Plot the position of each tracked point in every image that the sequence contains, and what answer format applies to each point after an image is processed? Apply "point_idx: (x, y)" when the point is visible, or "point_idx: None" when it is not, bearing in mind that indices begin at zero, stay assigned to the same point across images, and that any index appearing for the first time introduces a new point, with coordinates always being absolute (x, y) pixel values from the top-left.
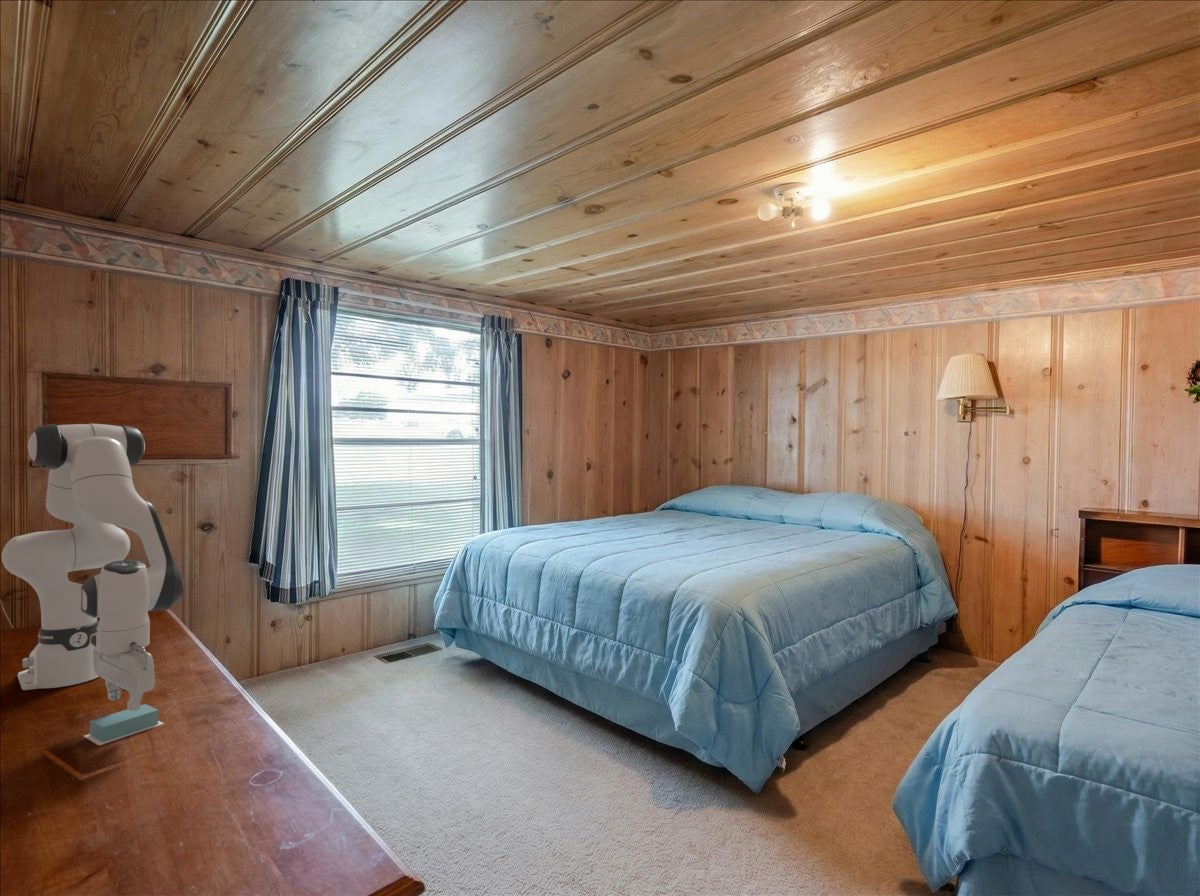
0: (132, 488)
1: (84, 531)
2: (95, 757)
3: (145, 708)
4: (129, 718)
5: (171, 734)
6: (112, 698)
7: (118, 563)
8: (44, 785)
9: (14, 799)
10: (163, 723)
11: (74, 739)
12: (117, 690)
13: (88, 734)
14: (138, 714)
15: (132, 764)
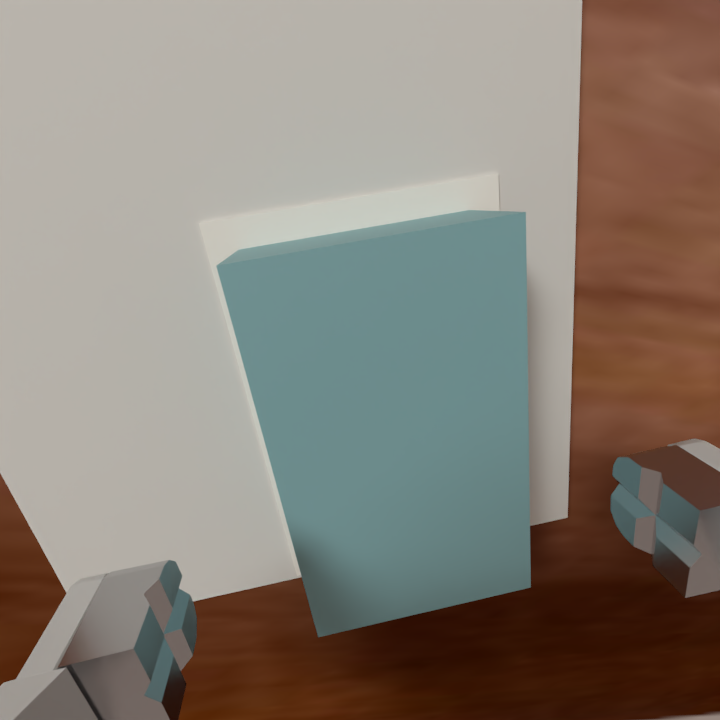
0: None
1: None
2: (593, 530)
3: (368, 297)
4: (519, 443)
5: (666, 178)
6: (192, 635)
7: None
8: (676, 657)
9: (692, 708)
10: (492, 177)
11: (259, 589)
12: (105, 677)
13: (293, 557)
14: (485, 376)
15: None
